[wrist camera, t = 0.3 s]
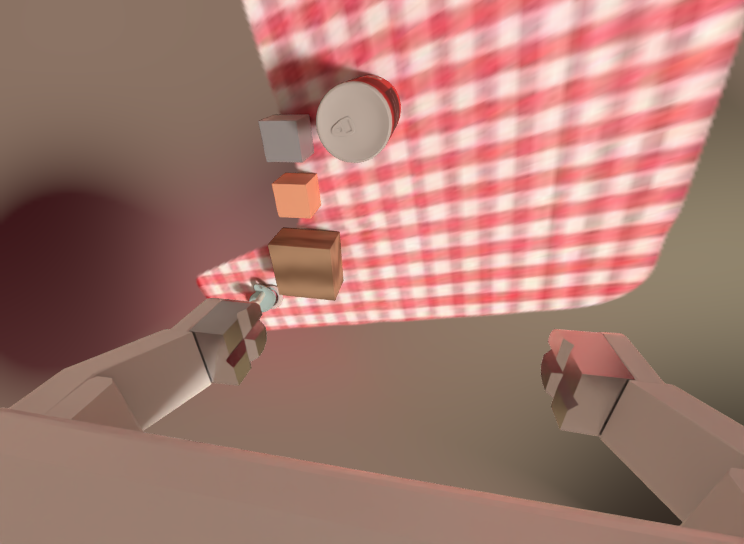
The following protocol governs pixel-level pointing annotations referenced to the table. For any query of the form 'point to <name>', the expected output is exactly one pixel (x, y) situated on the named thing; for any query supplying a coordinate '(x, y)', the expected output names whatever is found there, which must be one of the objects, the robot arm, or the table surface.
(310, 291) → the walnut block
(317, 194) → the terracotta cube
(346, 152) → the canned food
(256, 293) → the pacifier
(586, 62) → the table surface
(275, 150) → the gray metal cube
